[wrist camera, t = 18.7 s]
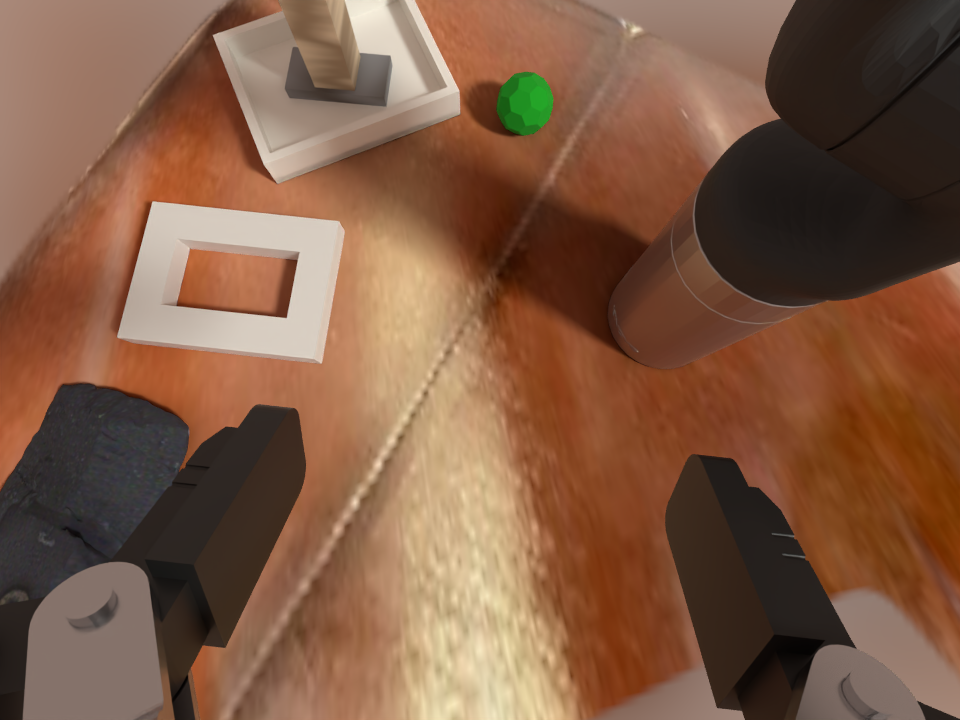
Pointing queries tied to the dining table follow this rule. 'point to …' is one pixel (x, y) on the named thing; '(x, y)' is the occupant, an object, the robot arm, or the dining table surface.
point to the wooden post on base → (332, 57)
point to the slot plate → (241, 233)
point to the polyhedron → (524, 103)
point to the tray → (332, 125)
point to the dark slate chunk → (83, 486)
